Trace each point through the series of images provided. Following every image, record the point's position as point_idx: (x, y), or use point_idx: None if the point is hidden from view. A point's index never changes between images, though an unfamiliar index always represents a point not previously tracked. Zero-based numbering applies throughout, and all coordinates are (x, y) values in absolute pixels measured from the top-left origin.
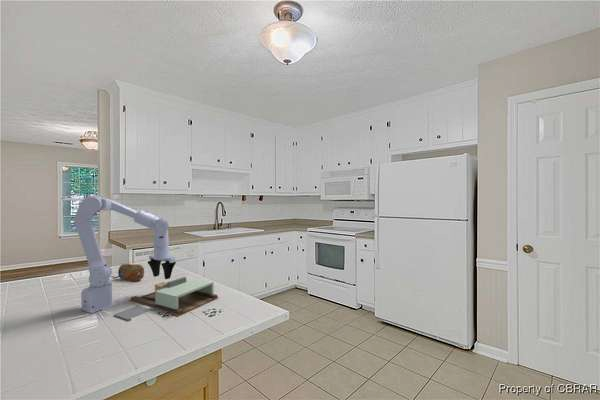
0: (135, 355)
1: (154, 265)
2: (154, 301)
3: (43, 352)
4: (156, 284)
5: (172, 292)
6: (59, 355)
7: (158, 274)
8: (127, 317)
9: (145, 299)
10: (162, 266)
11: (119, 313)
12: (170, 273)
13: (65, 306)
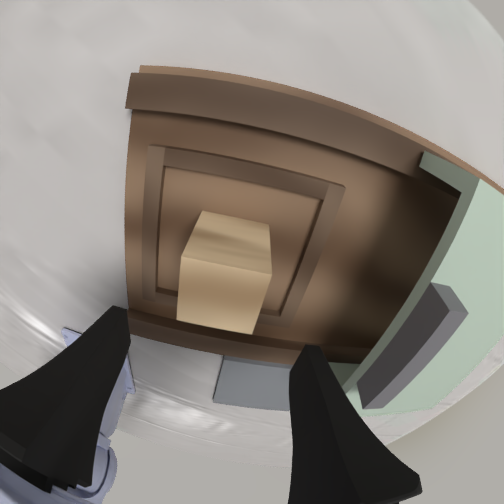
0: (386, 432)
1: (86, 438)
2: (286, 349)
3: (239, 453)
4: (187, 316)
5: (411, 401)
6: (272, 453)
7: (122, 324)
8: (275, 407)
9: (218, 341)
10: (291, 500)
11: (224, 399)
12: (331, 387)
13: (33, 354)
